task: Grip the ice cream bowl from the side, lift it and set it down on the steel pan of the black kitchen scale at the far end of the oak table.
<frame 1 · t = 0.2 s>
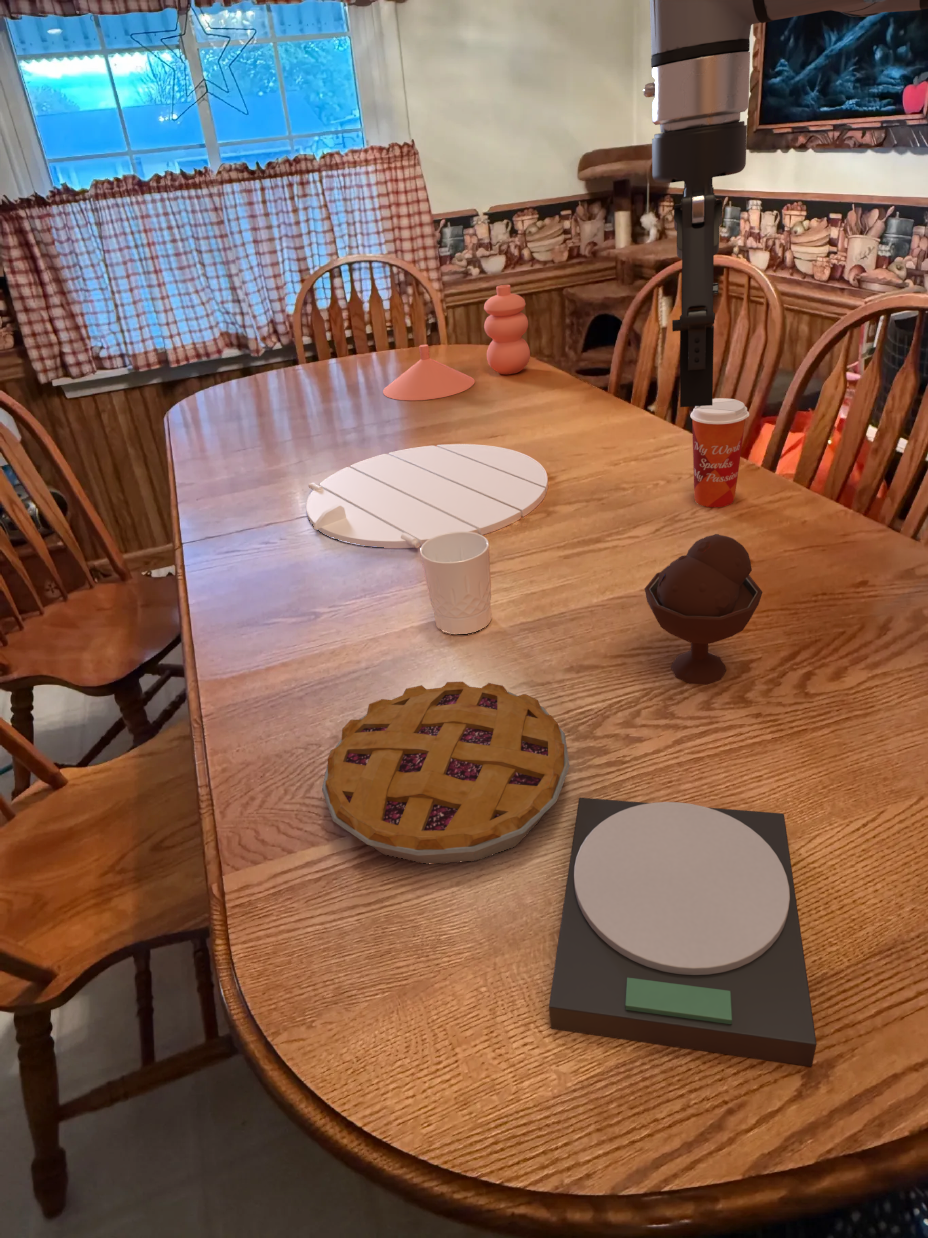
hand: (696, 384, 77), 28 cm above the table, tool pointing down, fingers open, 13 cm apart
paper cup: (714, 500, 120), on the table
pie: (449, 788, 74), on the table
ice cream bowl: (698, 670, 85), on the table
ceramic vessels: (458, 381, 189), on the table
lazy susan: (425, 495, 133), on the table
white cup: (463, 622, 98), on the table
scale: (677, 922, 60), on the table
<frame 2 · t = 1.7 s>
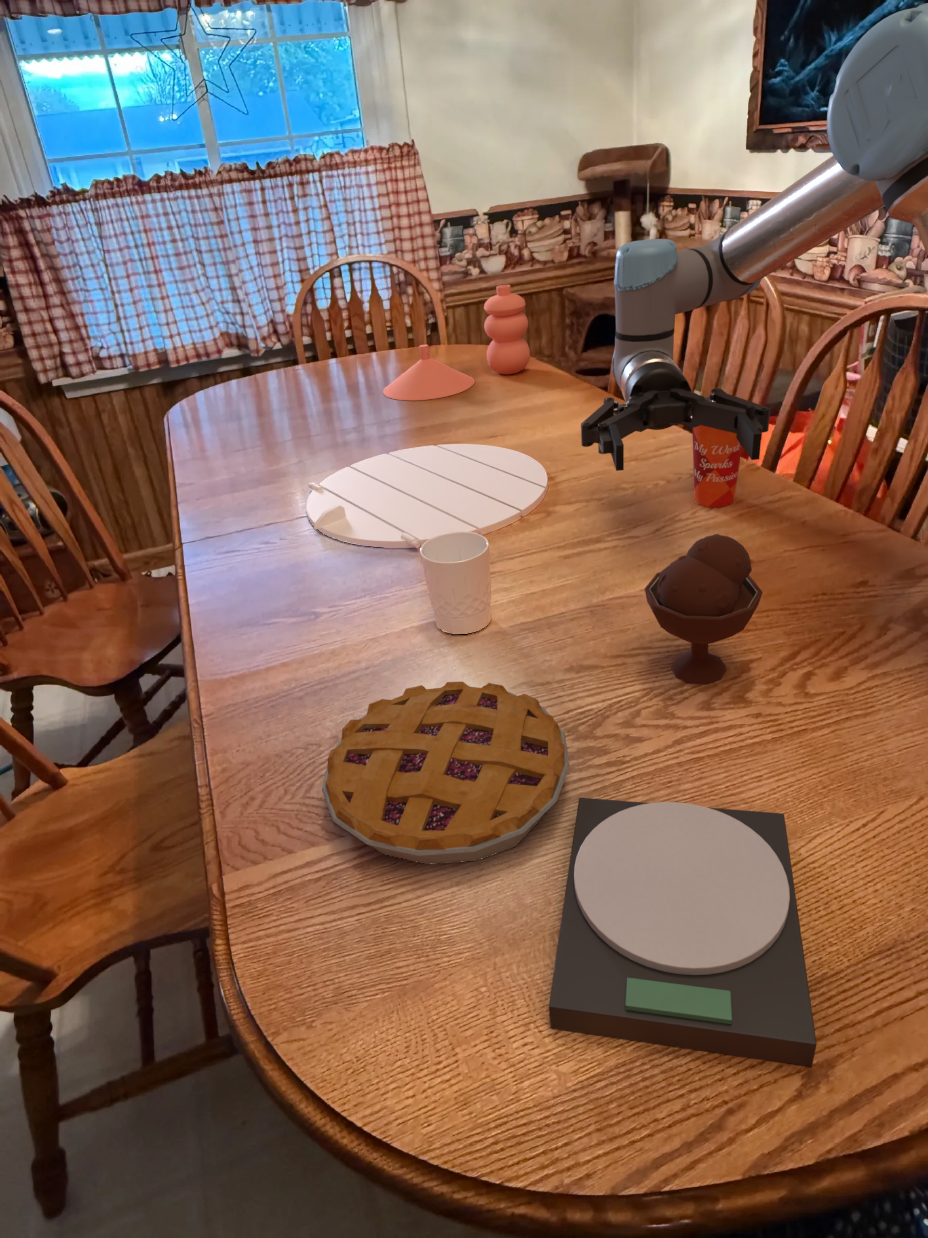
hand: (687, 452, 83), 20 cm above the table, tool horizontal, fingers open, 13 cm apart
nothing on the table moved.
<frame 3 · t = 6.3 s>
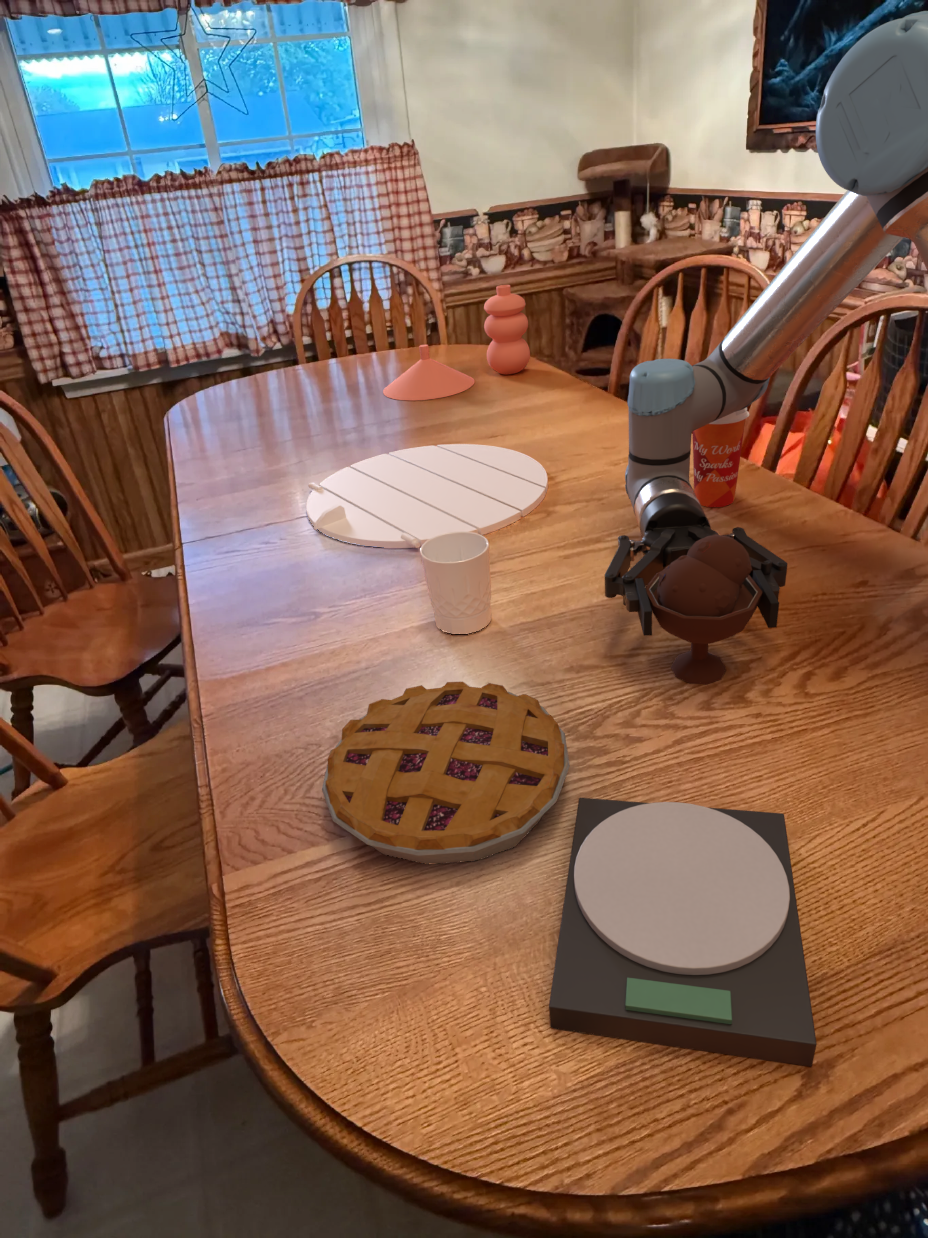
hand: (710, 619, 78), 8 cm above the table, tool horizontal, fingers closed on ice cream bowl, 11 cm apart
ice cream bowl: (698, 670, 85), on the table, touching gripper
everything else where it was.
when the fingers open (12 cm above the table, at t = 16.6 s): ice cream bowl stays where it is, resting on scale.
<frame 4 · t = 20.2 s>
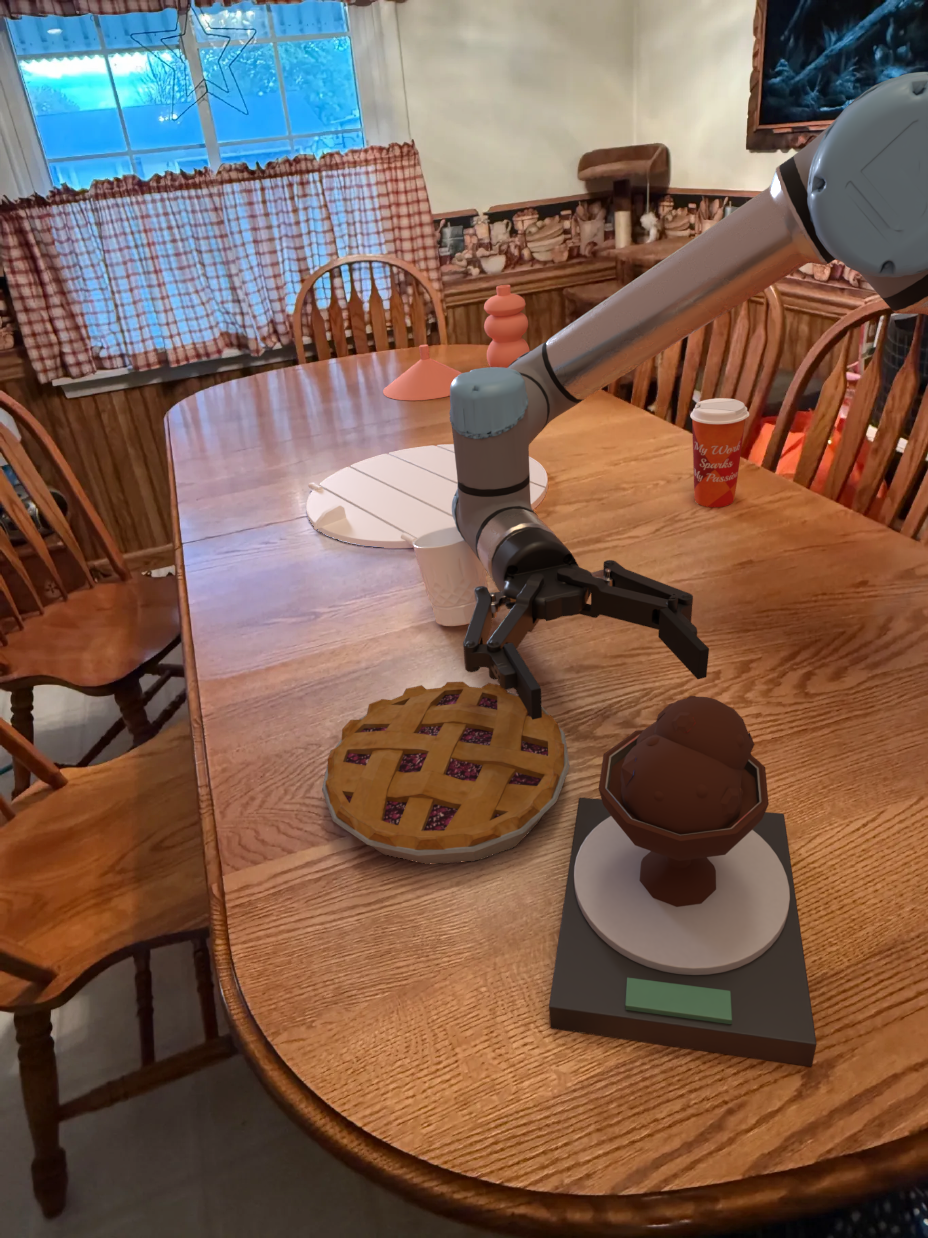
hand: (622, 684, 62), 14 cm above the table, tool horizontal, fingers open, 13 cm apart
ice cream bowl: (677, 877, 59), point 3 cm above the table, touching scale
white cup: (463, 617, 98), on the table, touching arm
everything else where it was.
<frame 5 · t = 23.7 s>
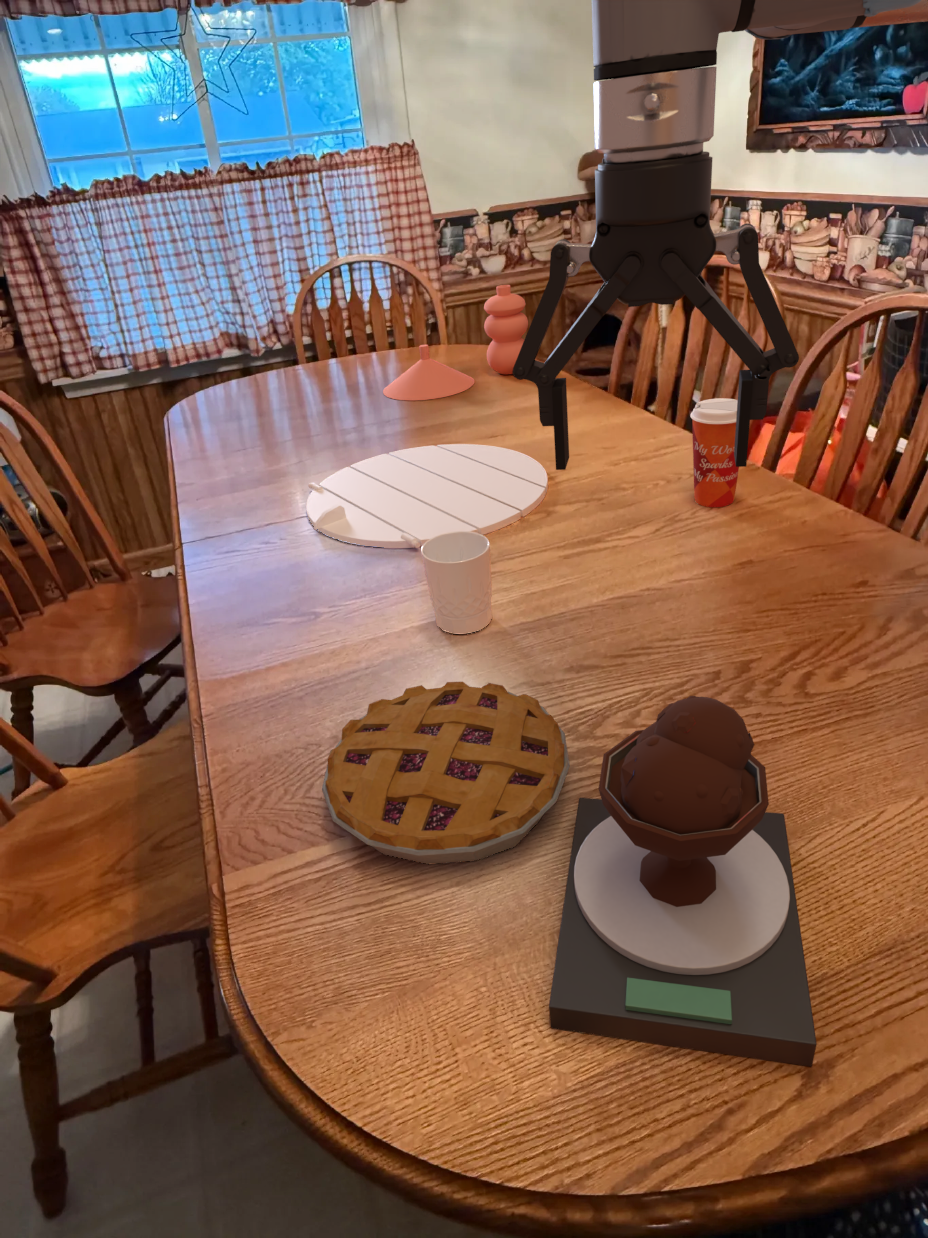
hand: (649, 462, 64), 27 cm above the table, tool pointing down, fingers open, 13 cm apart
white cup: (464, 621, 99), on the table
everything else where it was.
at the end: ice cream bowl inside the target area on the scale (0.1 cm from its centre), point 3.0 cm above the scale's base; ice cream bowl tilted 0°; the gripper is holding nothing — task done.
